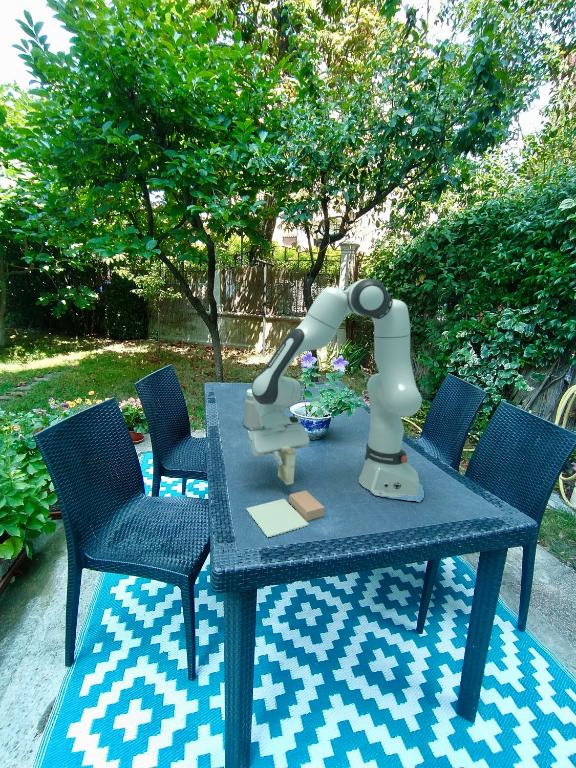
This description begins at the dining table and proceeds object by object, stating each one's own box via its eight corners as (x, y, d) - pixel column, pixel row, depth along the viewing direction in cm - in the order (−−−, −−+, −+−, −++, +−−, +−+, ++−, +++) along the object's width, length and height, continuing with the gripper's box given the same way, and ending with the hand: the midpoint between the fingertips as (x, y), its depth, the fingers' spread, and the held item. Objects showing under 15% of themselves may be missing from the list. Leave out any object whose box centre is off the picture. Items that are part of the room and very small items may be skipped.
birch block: (277, 476, 117) (279, 445, 114) (284, 474, 118) (286, 444, 115) (286, 484, 112) (288, 452, 109) (293, 483, 113) (295, 451, 110)
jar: (254, 431, 164) (256, 394, 160) (239, 426, 170) (240, 390, 166) (267, 426, 172) (270, 391, 168) (253, 421, 178) (254, 387, 173)
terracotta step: (288, 503, 109) (289, 494, 108) (305, 498, 112) (305, 490, 111) (306, 521, 101) (307, 512, 100) (323, 516, 104) (324, 507, 103)
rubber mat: (245, 510, 104) (245, 508, 104) (284, 500, 110) (284, 498, 110) (267, 538, 92) (267, 536, 92) (308, 525, 99) (308, 524, 99)
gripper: (249, 424, 111) (261, 466, 105) (303, 417, 121) (317, 454, 116) (243, 433, 116) (254, 473, 110) (296, 425, 126) (309, 461, 120)
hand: (287, 463), depth 113 cm, fingers closed on birch block, 2 cm apart
